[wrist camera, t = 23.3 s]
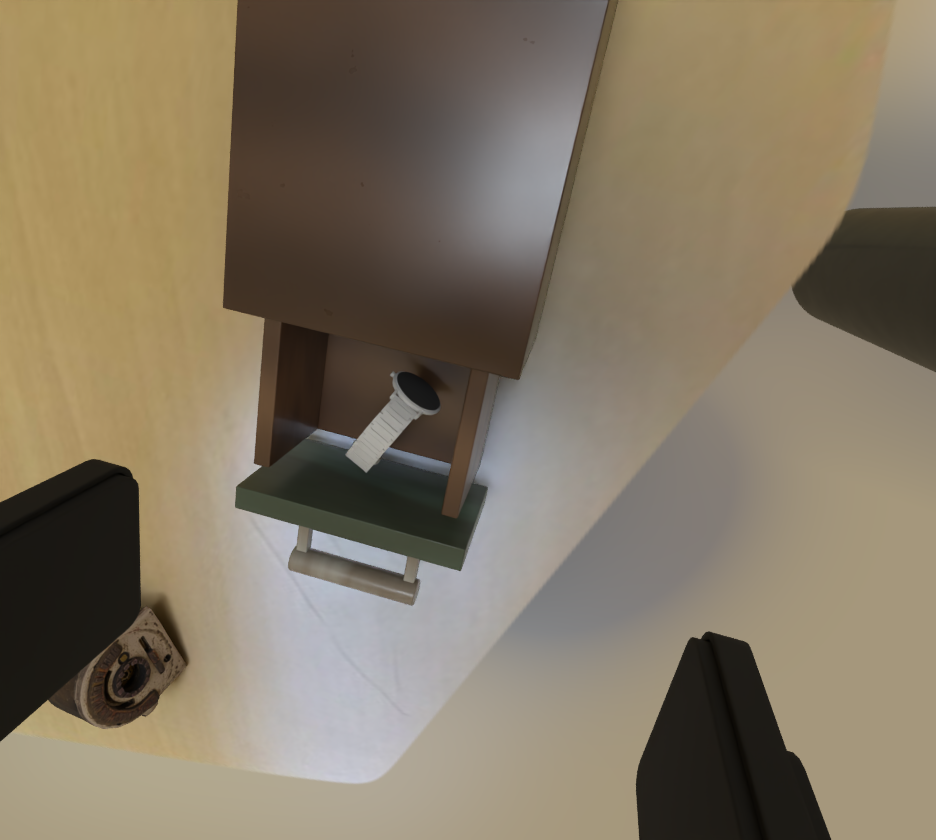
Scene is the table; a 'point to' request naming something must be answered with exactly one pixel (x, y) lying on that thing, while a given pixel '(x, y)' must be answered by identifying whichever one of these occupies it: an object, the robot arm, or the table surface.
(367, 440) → the wristwatch
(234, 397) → the table surface
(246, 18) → the cabinet
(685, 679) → the robot arm
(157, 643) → the mechanical counter
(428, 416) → the drawer
